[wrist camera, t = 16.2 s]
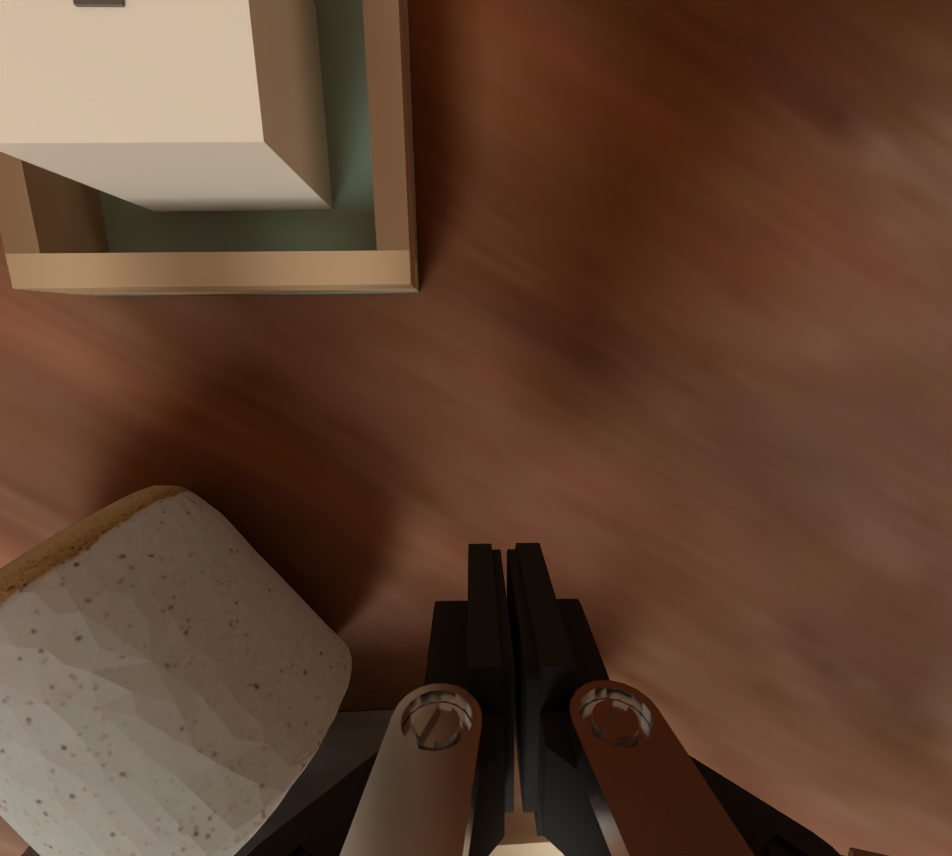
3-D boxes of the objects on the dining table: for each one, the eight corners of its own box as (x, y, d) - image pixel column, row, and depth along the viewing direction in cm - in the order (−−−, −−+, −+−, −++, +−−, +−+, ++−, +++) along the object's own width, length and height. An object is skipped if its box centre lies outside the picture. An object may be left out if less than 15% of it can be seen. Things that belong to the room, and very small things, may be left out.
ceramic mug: (215, 438, 15) (-19, 550, 8) (377, 609, 17) (311, 838, 9) (-3, 617, 16) (-389, 863, 9) (168, 761, 18) (-39, 1072, 11)
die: (315, 4, 12) (223, -214, 7) (332, 209, 13) (262, 140, 8) (119, 3, 12) (-113, -223, 7) (152, 211, 13) (-29, 142, 8)
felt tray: (404, -76, 13) (389, -199, 10) (419, 292, 15) (410, 284, 12) (34, -85, 12) (-99, -217, 9) (103, 296, 14) (12, 288, 11)
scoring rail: (569, 699, 18) (640, 926, 11) (568, 725, 18) (637, 962, 12) (120, 724, 17) (-97, 982, 10) (125, 750, 18) (-82, 1019, 11)
